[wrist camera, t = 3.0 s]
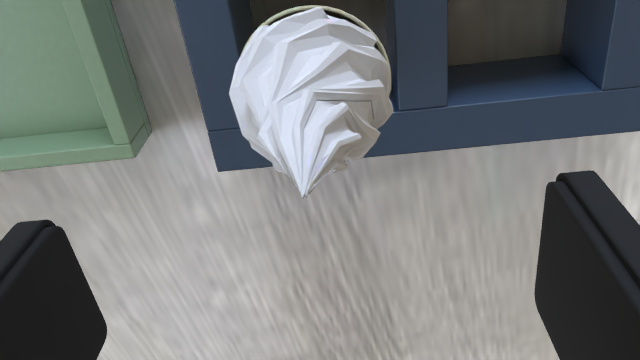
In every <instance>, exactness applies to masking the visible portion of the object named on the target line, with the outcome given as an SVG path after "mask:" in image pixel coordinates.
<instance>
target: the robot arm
mask: <svg viewBox="0 0 640 360" xmlns="http://www.w3.org/2000/svg"><path fill="white" fill-rule="evenodd" d="M535 301H536V306H537V309H538V312H539V314H540V316H541V319H542V321H543V323H544V325H545V327H546V330H547V332H548V334H549V336H550V339H551V341H552V343H553V345H554V348H555V350H556V352H557V354H558V356H559V359H560V360H640V225H639V224H638V223H637V222H636V220H635V219H634V218H633V217H632V216H631V214H630V213H629V212H628V211H627V210H626V208H625V207H624V206H623V205H622V204H621V202H620V201H619V200H618V199H617V198H616V196H615V195H614V194H613V193H612V191H611V190H610V189H609V188H608V187H607V185H606V184H605V183H604V182H603V181H602V179H601V178H600V177H599V176H598V175H597V173H595V172H594V171H580V172H569V173H560V174H559V175H558V176H557V178H556V182H549V183H548V184H547V187H546V193H545V202H544V211H543V220H542V229H541V238H540V247H539V256H538V265H537V274H536V283H535ZM106 335H107V326H106V322H105V320H104V318H103V315H102V313H101V311H100V309H99V307H98V304H97V302H96V300H95V298H94V295H93V293H92V291H91V289H90V287H89V284H88V282H87V280H86V278H85V276H84V273H83V271H82V269H81V267H80V264H79V262H78V260H77V258H76V256H75V253H74V251H73V249H72V247H71V245H70V242H69V240H68V238H67V236H66V234H65V232H64V230H63V229H62V228H61V227H59V226H56V225H55V224H54V223H53V222H52V221H50V220H38V221H27V222H20V223H17V224H16V225H14V226H13V227H12V229H11V230H10V231H9V232H8V233H7V234H6V235H5V237H4V238H3V239H2V240H1V241H0V360H96V359H97V357H98V355H99V353H100V351H101V349H102V347H103V345H104V342H105V340H106Z"/></svg>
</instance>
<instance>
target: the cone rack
mask: <svg viewBox="0 0 640 360" xmlns="http://www.w3.org/2000/svg"><path fill="white" fill-rule="evenodd" d="M174 3H175V7H176V11H177V15H178V19H179V23H180V27H181V30H182V34H183V38H184V42H185V46H186V50H187V54H188V58H189V61H190V65H191V69H192V73H193V77H194V81H195V85H196V89H197V92H198V96H199V100H200V104H201V108H202V112H203V116H204V120H205V123H206V127H207V130H208V136H209V139H210V143H211V147H212V151H213V155H214V159H215V163H216V167H217V170H218V172H222V171H232V170H242V169H253V168H263V167H273V164H272V162H270V161H269V160H268V159H266V158H265V157H263V156H262V155H261V154H259V153H258V152H256V151H255V150H254V149H252V148H251V145H250V142H249V141H248V140H247V139H246V138H245V137H244V136H243V135H242V132H241V129H240V126H239V123H238V120H237V117H236V114H235V111H234V108H233V104H232V101H231V98H230V95H229V91H230V87H231V83H232V79H233V74H234V70H235V66H236V63H237V62H238V60H239V58H240V56H241V54H242V51H243V49H244V46H245V45H246V43H247V41H248V40H249V38H250V36H251V35H252V34H253V33H254V32H255V30H254V25H253V19H252V14H251V9H250V3H249V0H174ZM385 16H386V33H387V51H388V60H389V64H390V69H391V91H390V95H389V99H390V101H391V103H392V107H393V111H394V112H393V113H392V114H391V116H390V117H389V118H388V120H387V121H386V122H385V123H384V124H383V125H382V126H380V127H379V128H378V129H377V130H378V131H379V132H380V135H379V137H378V139H377V141H376V143H375V144H374V145H373V146H372V147H371V148H370V150H369V151H368V152H367V153H366V154H365V155H364V157H363V158H366V157H376V156H387V155H397V154H407V153H417V152H428V151H438V150H448V149H459V148H469V147H479V146H490V145H500V144H510V143H521V142H531V141H541V140H551V139H562V138H572V137H582V136H593V135H603V134H613V133H624V132H634V131H640V0H567V6H566V15H565V24H564V32H563V41H562V50H561V54H559V55H550V56H541V57H532V58H522V59H513V60H504V61H495V62H486V63H477V64H467V65H458V66H449V67H448V0H385Z"/></svg>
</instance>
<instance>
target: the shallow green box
mask: <svg viewBox="0 0 640 360" xmlns="http://www.w3.org/2000/svg"><path fill="white" fill-rule="evenodd" d="M151 133H152V130H151V127H150V124H149V121H148V117H147V114H146V111H145V108H144V105H143V102H142V99H141V95H140V92H139V89H138V86H137V83H136V80H135V77H134V73H133V70H132V67H131V64H130V61H129V58H128V55H127V51H126V48H125V45H124V42H123V39H122V36H121V33H120V29H119V26H118V23H117V20H116V17H115V14H114V11H113V7H112V4H111V1H110V0H0V171H9V170H19V169H29V168H39V167H49V166H59V165H69V164H79V163H89V162H99V161H109V160H119V159H129V158H135V157H136V156H137V154H138V153H139V151H140V150H141V148H142V146H143V145H144V143H145V142H146V140H147V138H148V137H149V136H150V134H151Z"/></svg>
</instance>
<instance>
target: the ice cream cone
mask: <svg viewBox="0 0 640 360" xmlns="http://www.w3.org/2000/svg"><path fill="white" fill-rule="evenodd" d="M390 91H391V69H390V64H389V60H388V56H387V54H386V52H385V49H384V47H383V45H382V43H381V42H380V40H379V39H378V37H377V36H376V34H375V33H374V32H373V31H372V30H371V29H370V28H369V27H368V26H367V25H366V24H365V23H363V22H362V21H360V20H359V19H358V18H356V17H355V16H353V15H351V14H349V13H347V12H344V11H342V10H340V9H336V8H332V7H328V6H318V5H308V6H298V7H294V8H291V9H288V10H284V11H282V12H280V13H278V14H276V15H274V16H272V17H271V18H269V19H268V20H267V21H265V22H264V23H263V24H261V25H260V26H259V27H258V28H257V29H256V31H255V32H254V33H253V34H252V35H251V36H250V38H249V40H248V41H247V43H246V45H245V46H244V49H243V51H242V54H241V56H240V58H239V60H238V62H237V63H236V66H235V70H234V74H233V79H232V83H231V87H230V91H229V95H230V98H231V101H232V104H233V108H234V111H235V114H236V117H237V120H238V123H239V126H240V129H241V132H242V135H243V136H244V137H245V138H246V139H247V140H248V141H249V142H250V145H251V148H252V149H254V150H255V151H256V152H258V153H259V154H261V155H262V156H263V157H265V158H266V159H268V160H269V161H270V162H272V164H273V167H274V169H275V170H276V171H278V172H281V173H283V174H286V175H287V176H288V177H289V178H290V179H291V181H292V182H293V183H294V185H295V186H296V187H297V188H298V190H299V191H300V193H301V195H302V198H304V197H306V198H307V197H308V195H309V194H310V193H311V192H312V190H313V189H314V188H315V186H316V185H317V184H318V183H319V182H320V181H321V180H322V179H323V178H324V177H325V176H326V175H328V174H329V173H333V172H336V171H343V170H346V167H347V165H346V163H345V161H346V160H357V159H361V158H363V157H364V155H365V154H366V153H367V152H368V151H369V150H370V148H371V147H372V146H373V145H374V144H375V143H376V141H377V139H378V137H379V135H380V132H379V131H378V130H377V129H378V128H379V127H380V126H382V125H383V124H384V123H385V122H386V121H387V120H388V118H389V117H390V116H391V114H392V113H393V112H394V111H393V107H392V103H391V101H390V99H389V95H390Z"/></svg>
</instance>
